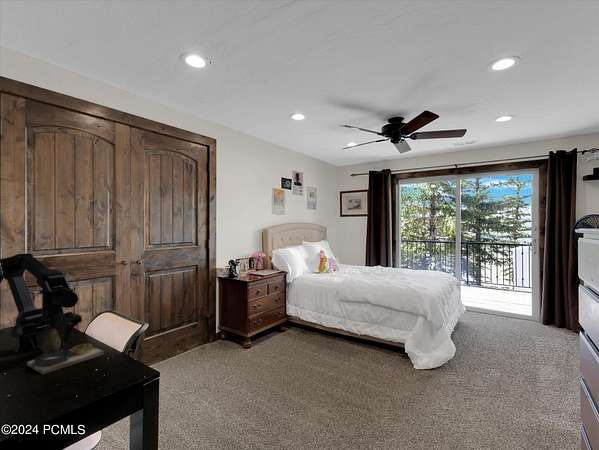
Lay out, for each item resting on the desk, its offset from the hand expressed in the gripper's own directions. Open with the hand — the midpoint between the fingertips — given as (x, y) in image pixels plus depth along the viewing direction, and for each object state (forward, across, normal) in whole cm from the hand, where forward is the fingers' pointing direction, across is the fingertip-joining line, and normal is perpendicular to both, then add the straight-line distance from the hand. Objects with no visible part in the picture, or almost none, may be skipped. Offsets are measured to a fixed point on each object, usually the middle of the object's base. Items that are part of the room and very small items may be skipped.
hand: (50, 346), depth 116 cm
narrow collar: (+3, +6, -11) cm, 13 cm away
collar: (+3, -3, -11) cm, 12 cm away
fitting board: (+3, +1, -11) cm, 11 cm away
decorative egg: (+3, 0, 0) cm, 3 cm away
